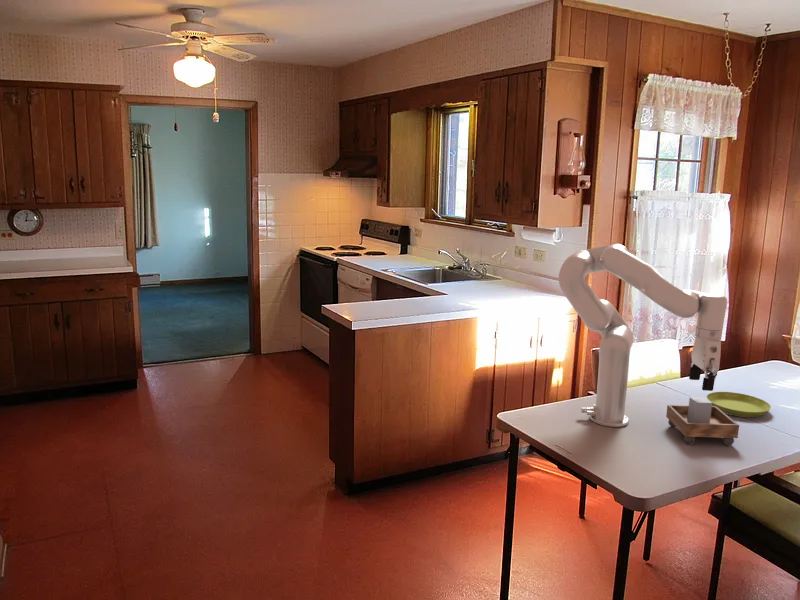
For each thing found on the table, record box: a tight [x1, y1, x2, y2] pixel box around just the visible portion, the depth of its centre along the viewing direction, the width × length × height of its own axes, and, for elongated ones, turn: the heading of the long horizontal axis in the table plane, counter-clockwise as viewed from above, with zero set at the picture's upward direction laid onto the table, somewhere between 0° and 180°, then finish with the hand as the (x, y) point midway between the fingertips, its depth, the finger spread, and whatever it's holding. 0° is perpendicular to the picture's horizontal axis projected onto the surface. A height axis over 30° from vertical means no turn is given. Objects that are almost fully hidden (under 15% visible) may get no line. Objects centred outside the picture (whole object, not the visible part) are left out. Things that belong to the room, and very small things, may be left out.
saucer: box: [706, 391, 772, 418], centre depth 233 cm, size 21×21×3 cm
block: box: [687, 396, 712, 424], centre depth 207 cm, size 5×5×8 cm
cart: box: [665, 404, 740, 446], centre depth 208 cm, size 16×16×7 cm
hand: (700, 384), depth 206 cm, fingers open, 9 cm apart
